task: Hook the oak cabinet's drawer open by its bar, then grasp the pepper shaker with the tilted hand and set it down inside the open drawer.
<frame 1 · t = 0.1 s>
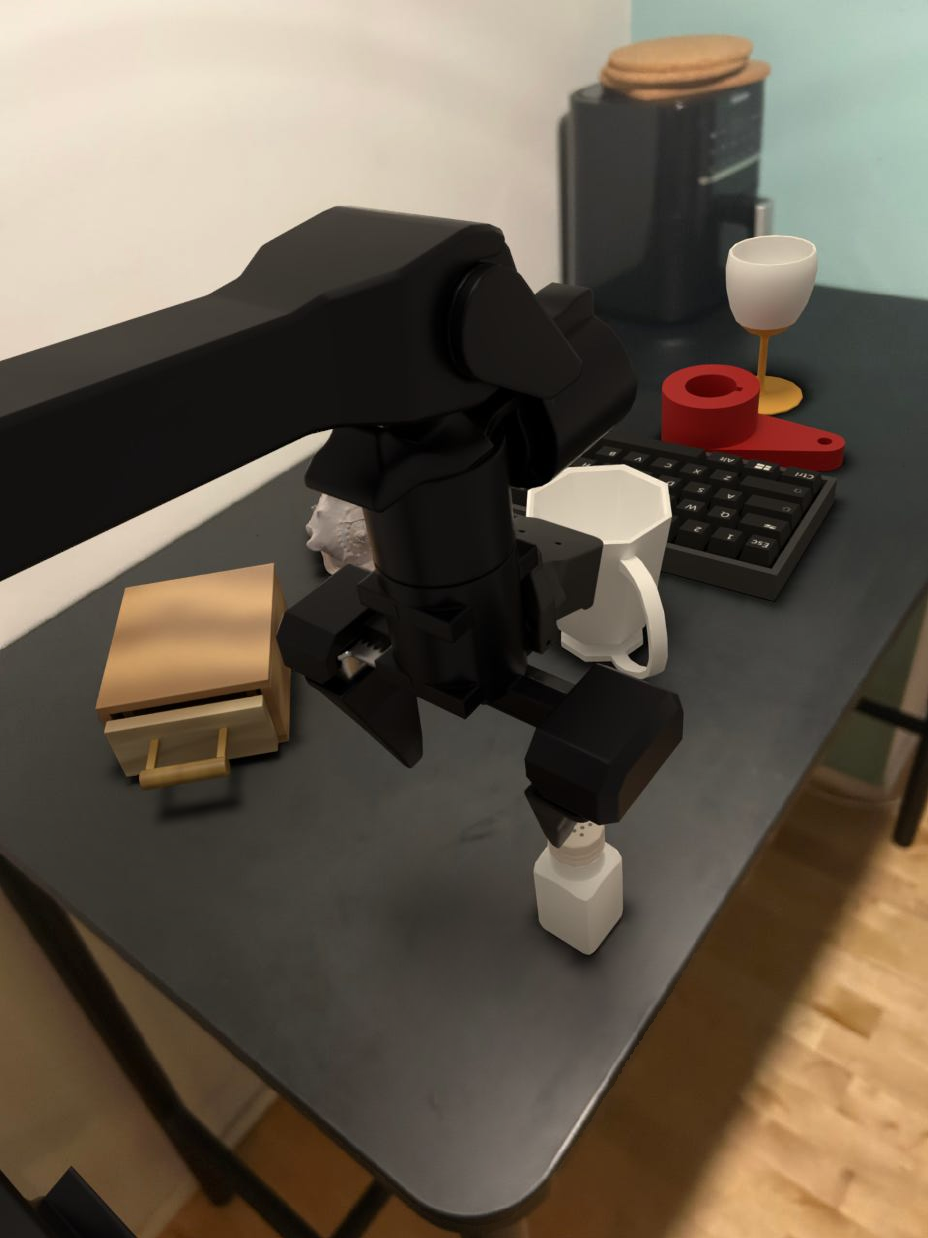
hand: (484, 799, 48), 15 cm above the table, tool pointing down, fingers open, 9 cm apart
drawer: (198, 699, 74), point 3 cm above the table, slide at 0.5 cm
computer keyboard: (577, 496, 95), on the table
cabinet: (215, 690, 79), on the table
seashell: (352, 550, 93), on the table
cup: (613, 653, 77), on the table
lever: (749, 452, 98), on the table
pepper shaker: (581, 923, 59), on the table
cup 2: (759, 397, 106), on the table
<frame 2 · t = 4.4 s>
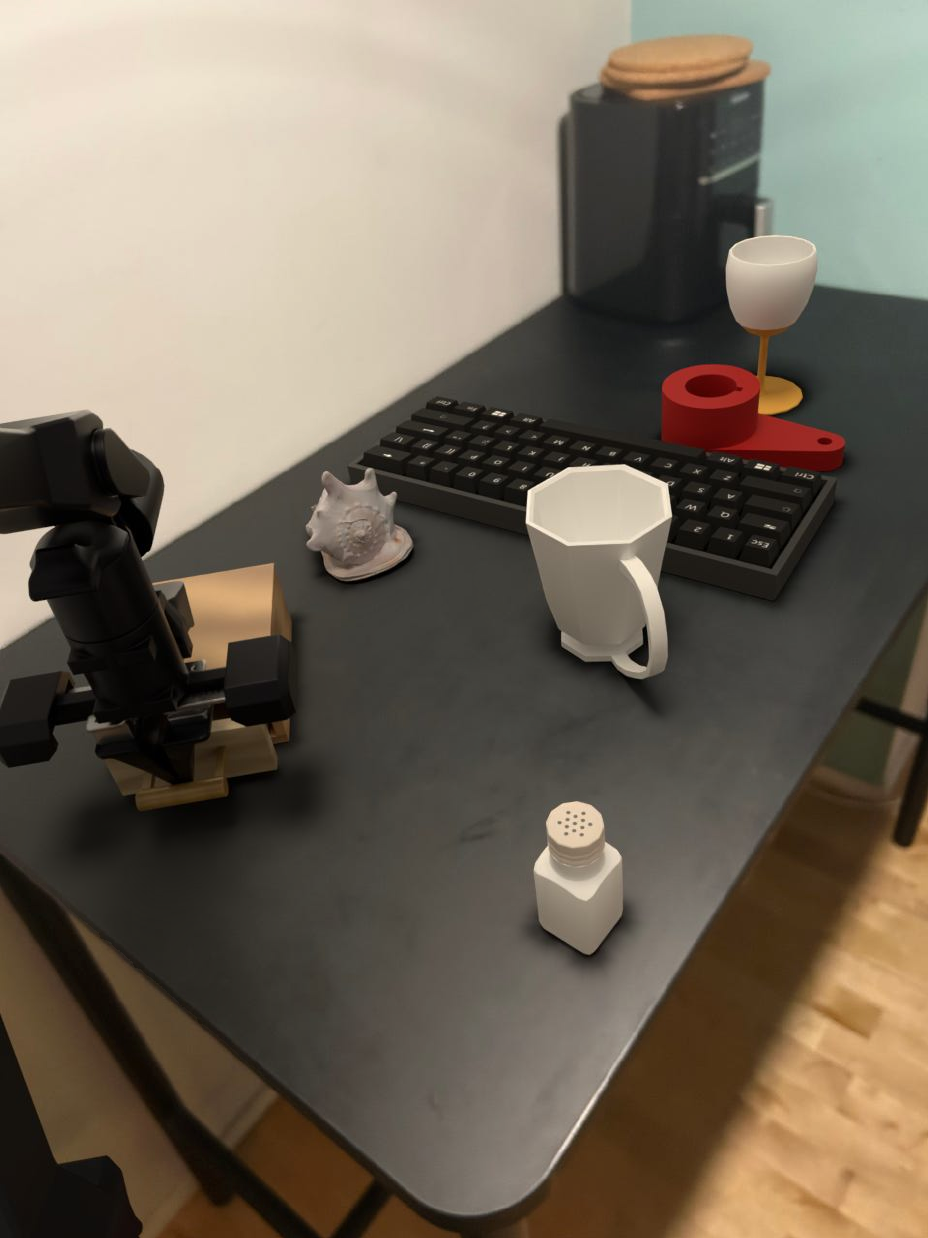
hand: (188, 783, 67), 3 cm above the table, tool pointing down, fingers closed
drawer: (196, 715, 72), point 3 cm above the table, slide at 2.3 cm, touching gripper
everything else where it was.
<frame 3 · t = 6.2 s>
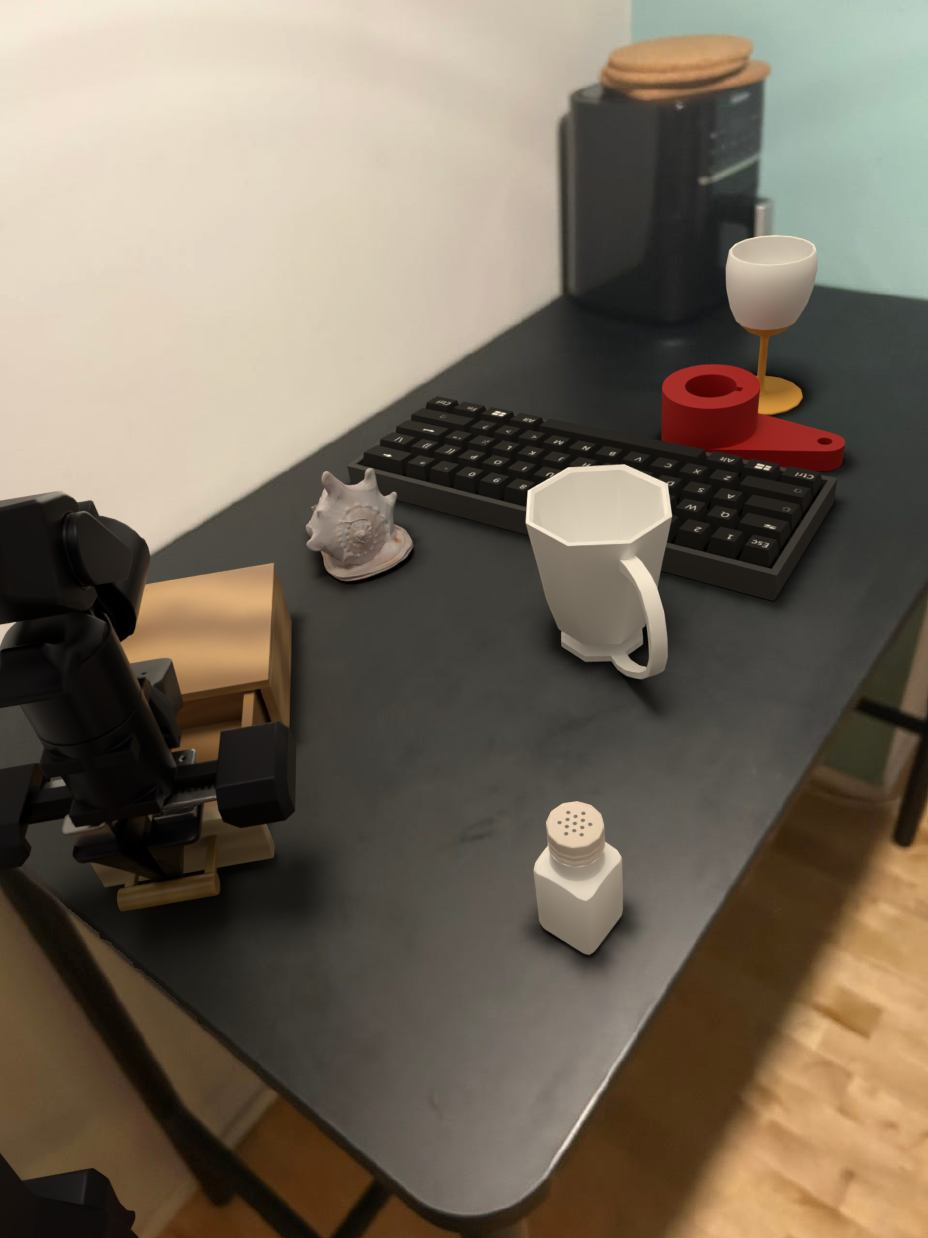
hand: (177, 879, 61), 3 cm above the table, tool pointing down, fingers closed
drawer: (185, 796, 66), point 3 cm above the table, slide at 10.3 cm
everything else where it was.
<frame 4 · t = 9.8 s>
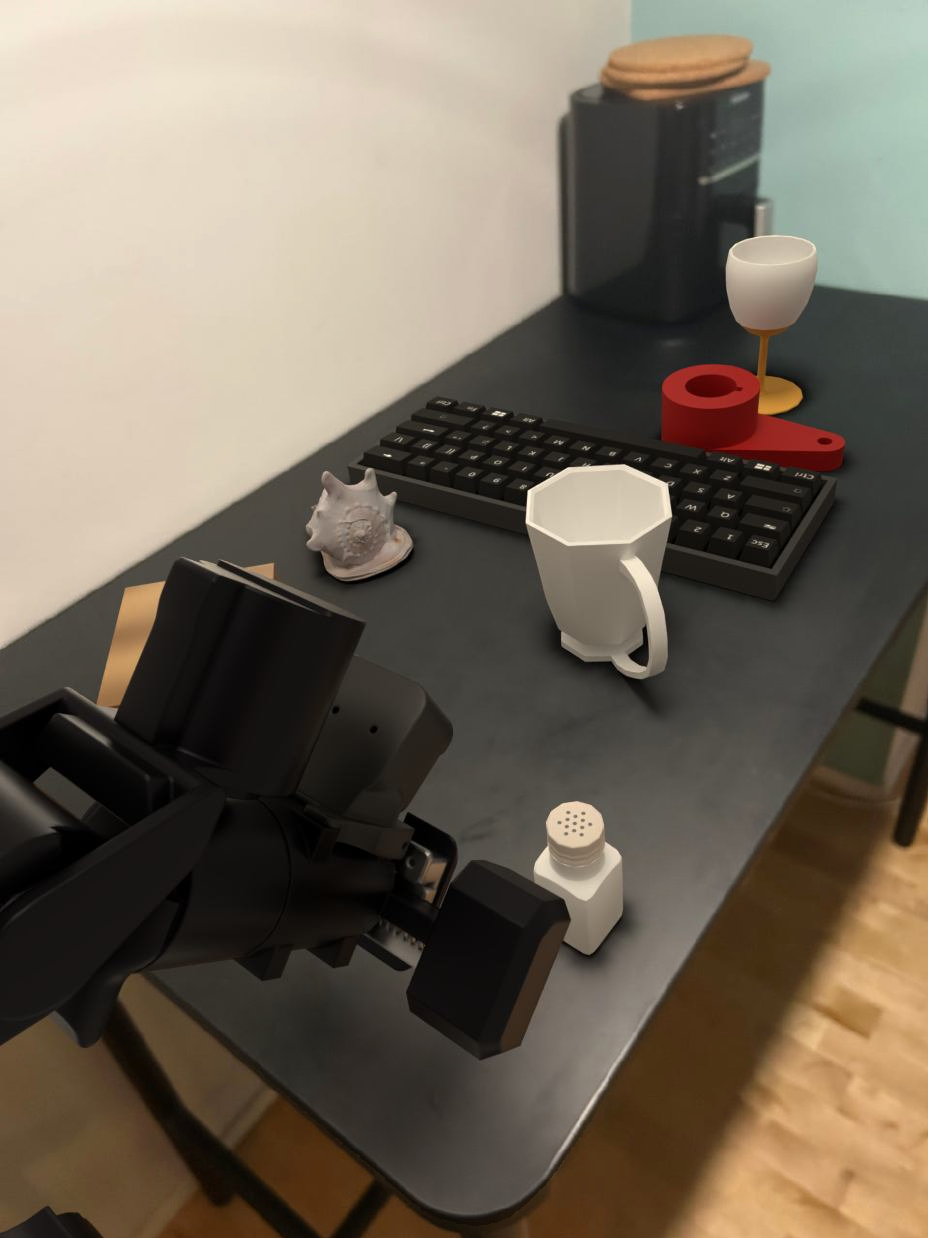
hand: (448, 866, 47), 13 cm above the table, tool tilted 40°, fingers closed
nothing on the table moved.
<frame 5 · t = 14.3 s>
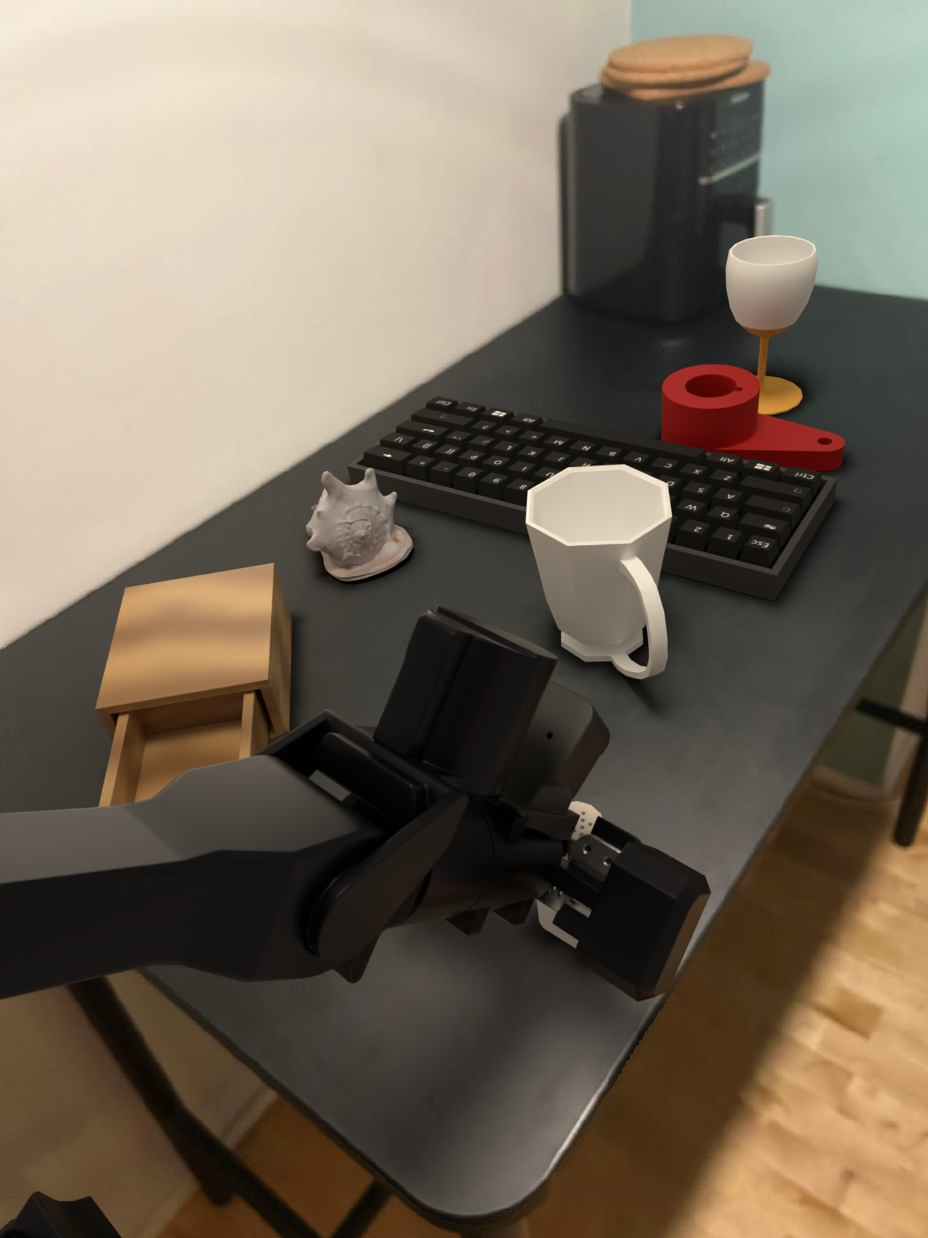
hand: (591, 839, 55), 7 cm above the table, tool tilted 45°, fingers closed on pepper shaker, 4 cm apart
pepper shaker: (581, 923, 59), on the table, touching gripper
everything else where it was.
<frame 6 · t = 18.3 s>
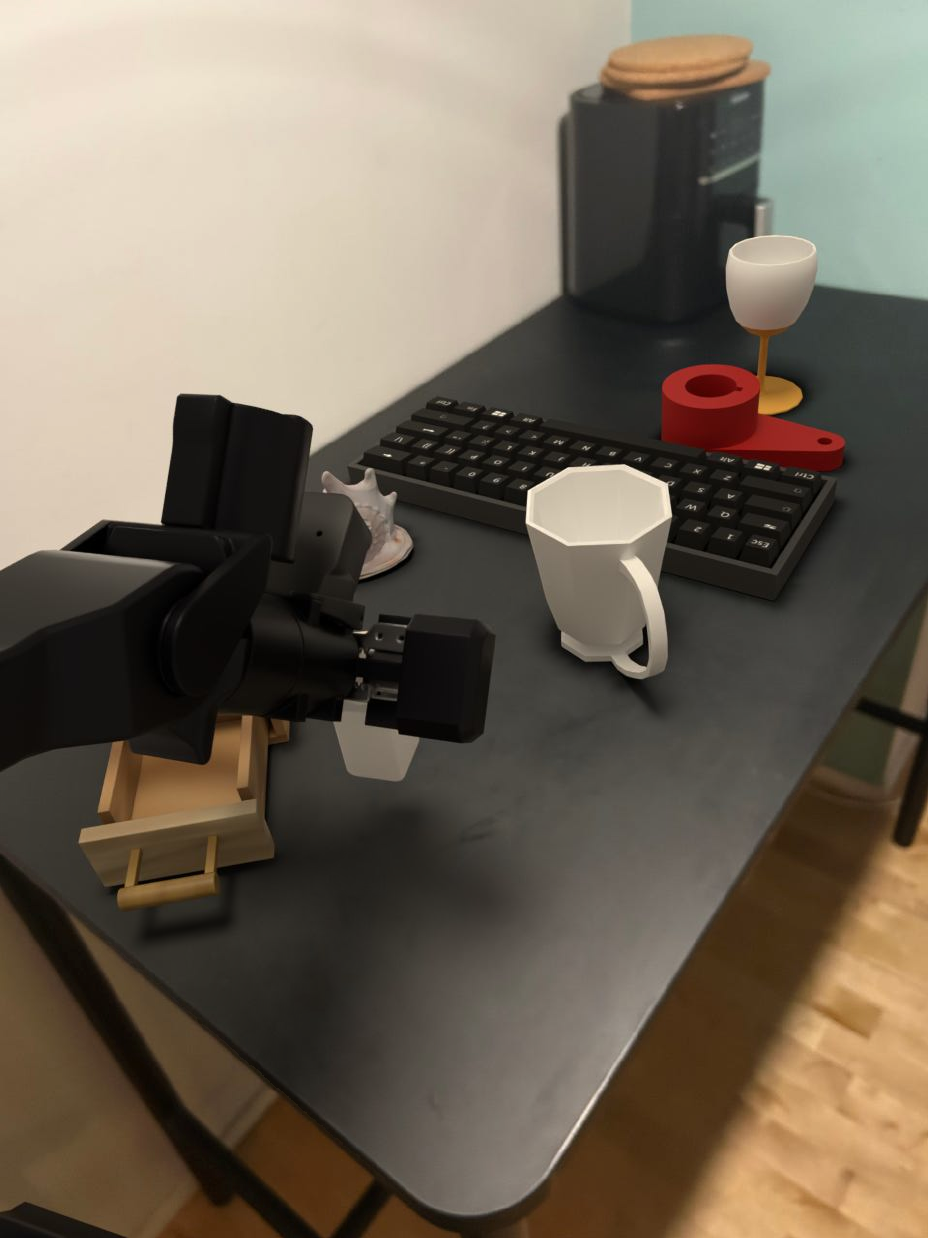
hand: (374, 669, 59), 13 cm above the table, tool tilted 45°, fingers closed on pepper shaker, 4 cm apart
pepper shaker: (385, 761, 62), point 7 cm above the table, touching gripper
everything else where it was.
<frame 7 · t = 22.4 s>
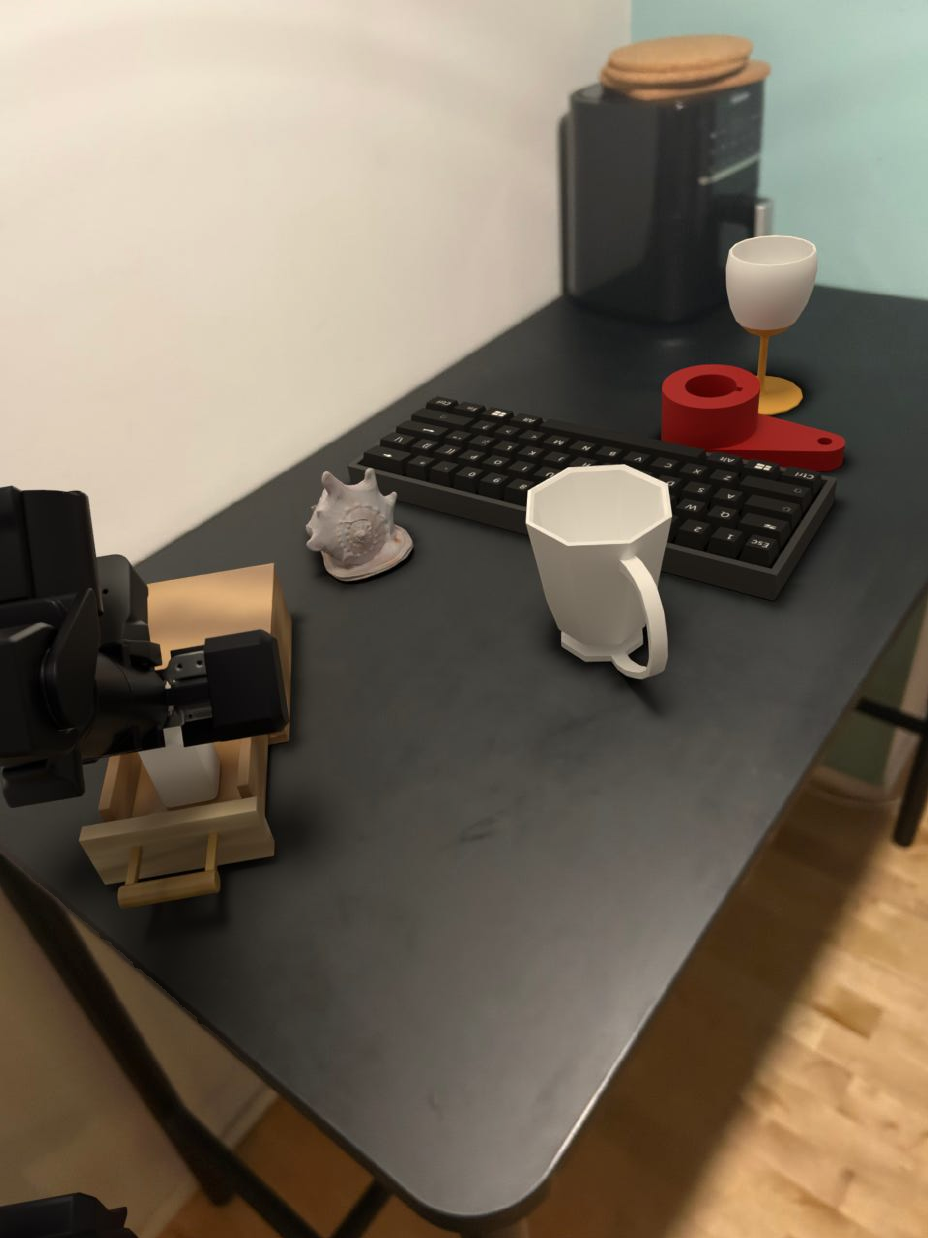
hand: (167, 707, 65), 9 cm above the table, tool tilted 45°, fingers closed on pepper shaker, 4 cm apart
drawer: (186, 794, 66), point 3 cm above the table, slide at 10.1 cm, touching pepper shaker
pepper shaker: (194, 787, 69), point 2 cm above the table, touching drawer, gripper
everything else where it was.
when the fingers open (9 cm above the table, at t = 22.4 s): pepper shaker stays where it is, resting on drawer.
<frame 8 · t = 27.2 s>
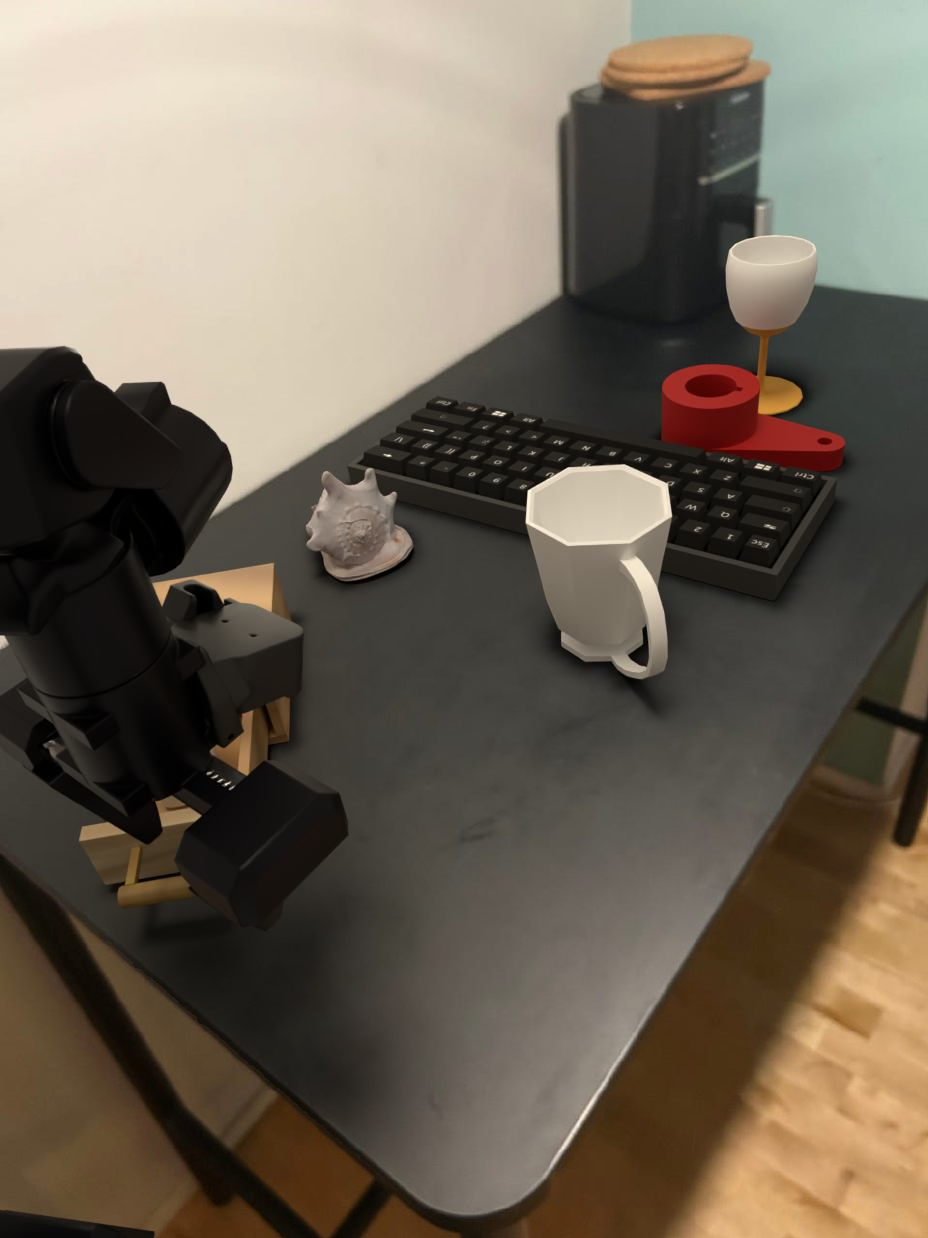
hand: (209, 878, 49), 13 cm above the table, tool pointing down, fingers open, 9 cm apart
pepper shaker: (194, 787, 69), point 2 cm above the table, touching drawer
everything else where it was.
at the end: drawer slide at 10.1 cm; pepper shaker 0.0 cm from the target spot in the drawer, point 1.8 cm above the cabinet's base; pepper shaker touching drawer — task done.
